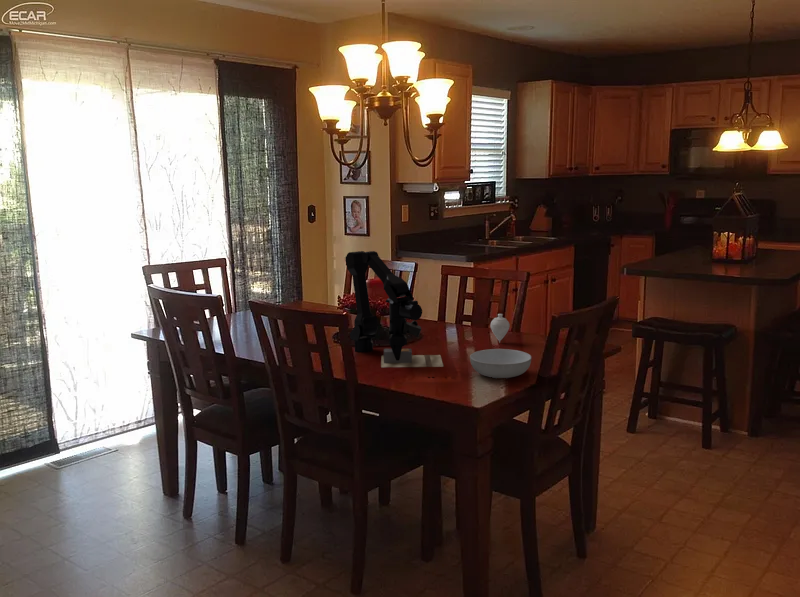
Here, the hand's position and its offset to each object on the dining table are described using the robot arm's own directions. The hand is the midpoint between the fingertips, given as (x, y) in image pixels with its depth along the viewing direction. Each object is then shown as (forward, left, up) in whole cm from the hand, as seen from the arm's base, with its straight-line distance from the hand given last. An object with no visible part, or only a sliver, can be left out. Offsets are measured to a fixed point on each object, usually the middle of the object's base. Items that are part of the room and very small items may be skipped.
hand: (397, 358), depth 262 cm
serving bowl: (+35, -14, -3) cm, 38 cm away
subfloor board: (+5, 0, -2) cm, 6 cm away
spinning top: (+42, +32, -3) cm, 53 cm away
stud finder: (0, 0, -1) cm, 1 cm away
